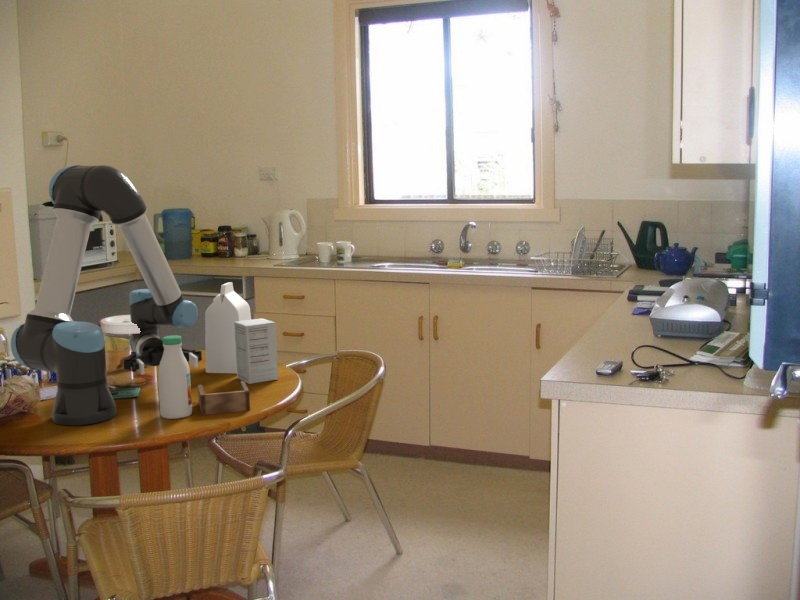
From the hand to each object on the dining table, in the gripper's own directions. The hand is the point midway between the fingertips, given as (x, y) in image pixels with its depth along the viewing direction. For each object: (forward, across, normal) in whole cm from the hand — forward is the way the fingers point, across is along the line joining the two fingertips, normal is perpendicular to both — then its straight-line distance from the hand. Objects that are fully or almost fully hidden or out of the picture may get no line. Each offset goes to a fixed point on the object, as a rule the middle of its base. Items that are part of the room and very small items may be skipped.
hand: (170, 365), depth 229 cm
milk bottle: (+8, +1, -11) cm, 13 cm away
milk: (-34, -25, -11) cm, 44 cm away
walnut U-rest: (+6, -12, -11) cm, 17 cm away
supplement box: (-18, -28, -11) cm, 35 cm away
